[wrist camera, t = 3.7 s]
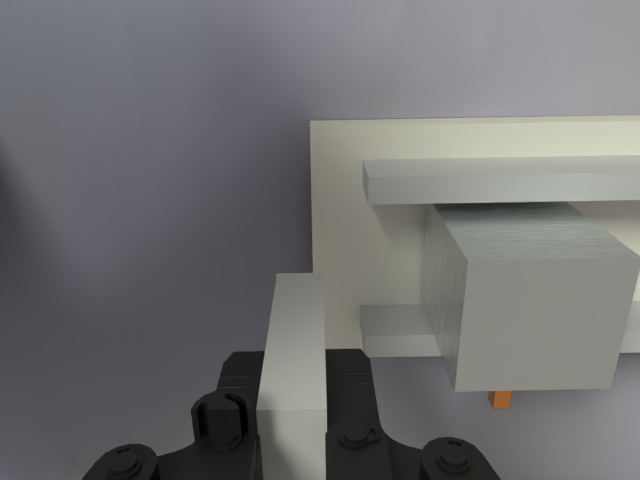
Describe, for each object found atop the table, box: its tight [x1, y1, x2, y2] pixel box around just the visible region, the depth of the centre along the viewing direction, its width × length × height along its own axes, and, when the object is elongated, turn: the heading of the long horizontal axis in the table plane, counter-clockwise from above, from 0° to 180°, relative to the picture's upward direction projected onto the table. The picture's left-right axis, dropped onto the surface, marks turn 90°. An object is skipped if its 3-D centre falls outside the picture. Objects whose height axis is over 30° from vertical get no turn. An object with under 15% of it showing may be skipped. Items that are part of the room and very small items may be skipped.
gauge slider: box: [420, 201, 640, 409], centre depth 19 cm, size 7×7×6 cm
